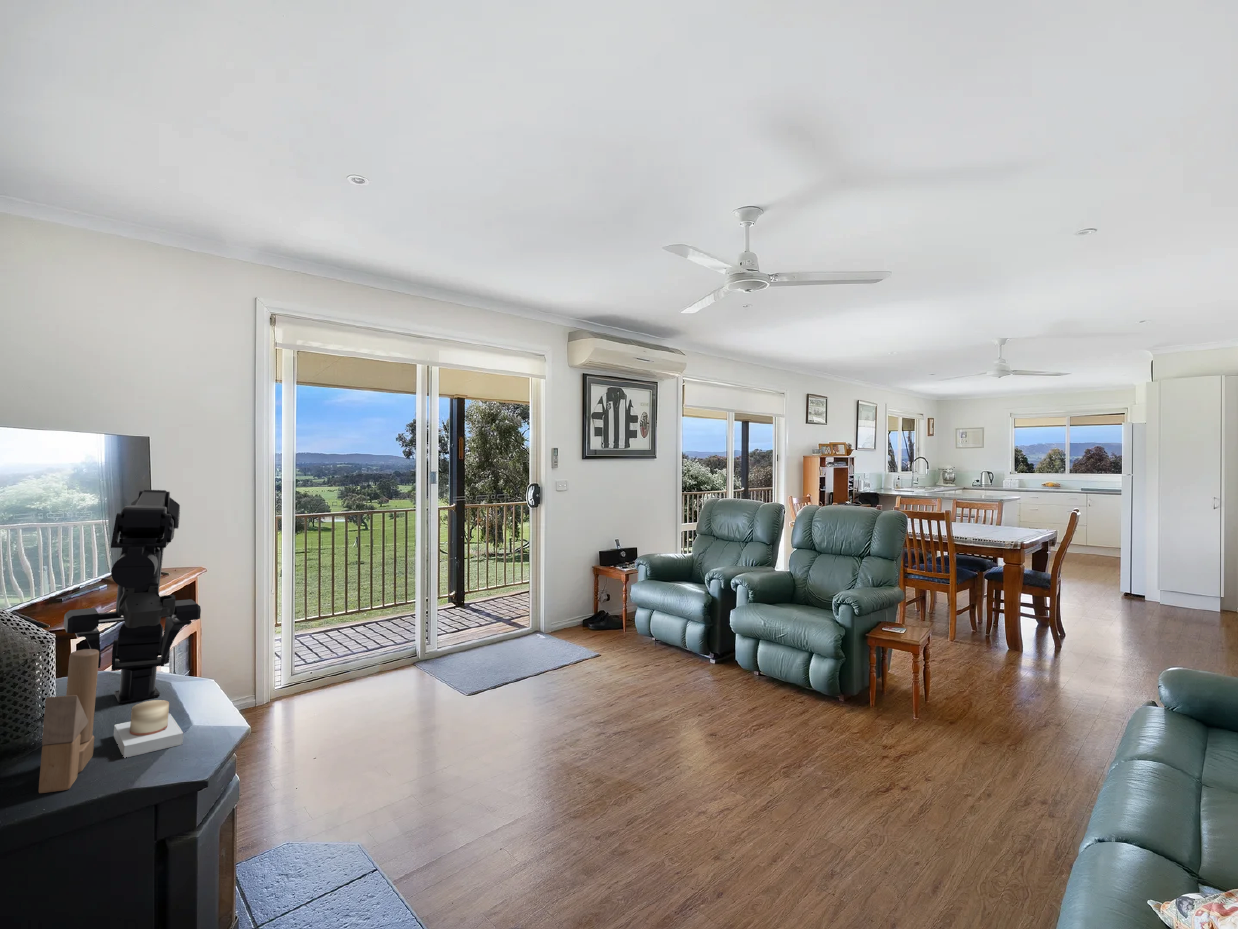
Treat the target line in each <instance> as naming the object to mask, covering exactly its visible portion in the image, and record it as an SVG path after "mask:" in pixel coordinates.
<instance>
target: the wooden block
mask: <svg viewBox="0 0 1238 929" xmlns="http://www.w3.org/2000/svg"><path fill="white" fill-rule="evenodd" d="M98 662H99V651H98V650H96V649H90V648H83V649H78V650H75V651H73V652H70V653H69V659H68V669H67V670H68V671H67V681H66V694H65V695H59V696H47V697H46V698H45V703H44V714H43V726H42V727H43V728H42V738H41V739H42V740H41V745H42V746H41V756H40V767H39V768H40V769H39V779H38V780H39V781H38V793H39V794H47V793H53V792H55V793H56V792H61V791H62V792H63V791H67V790H70V789H71V788H72V786H73V784H74V783H75V781H76V780H77V779H78V774H80V773H81V772H83V770H84V768H85V767H86V766H87V765H88V763H89V762H90V760H92V758H93V755H94V747H95V735H94V734H93V733H94V721H95V720H94V719H95V708H96V707H95V706H96V699H97V698H96V696H97V687H98V686H97V683H98V673H99V668H98Z"/></svg>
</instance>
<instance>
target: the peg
mask: <svg viewBox="0 0 1238 929" xmlns="http://www.w3.org/2000/svg"><path fill="white" fill-rule="evenodd" d="M169 709H170V702H169V701H168V700H163V699H154V700H148V701H141V702H140V703H137V704H134V705H133V706H132V708H131V711H130V713H131V714H130V721H131V723H130V734H132V735H137V736H143V735H151V734H155V733H158V732H161V731H163V730H165V729H166V728H167V725H168V714H169Z"/></svg>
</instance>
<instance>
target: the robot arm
mask: <svg viewBox="0 0 1238 929" xmlns="http://www.w3.org/2000/svg"><path fill="white" fill-rule="evenodd" d="M138 492H139V493H138V498H136V499H135V500H134V501H132V502H131V503H130V505H126V506H123V507H122V509H121V512H117V513H116V514H115V515H116V516H115V520H114V525H113V526H114V527H113V530H112V531H113V532H112V536H111V542H110V548H111V549H121V551H120V555H119V558H118V559H117V560H116V561H115V562H114V563H113V566H112V568H111V572H110V575H111V578H112V581H113V582H114V583H115V584H116V585H117V590H116V600H115V601H116V602H115V611H107V612H98V610H97V608H96V607H92V608H91V607H90V608H80V609H69V610H68V611H67V612H65V614H64V617H63V628H64V630H65V633H66V634H70V635H71V634H75V636H76V637H77V638H85V640H86V641H87V644H88V646H89V649H96V650H98V651H99V662H98V669H100V668H101V664H102V655H101V654H102V651H101V640H100V638H101V632H100V630H99V629H98V627H99V625H102V624H103V625H104V624H111V623H113V624H114V623H120V622H121V623H122V622H124V623H122V625H121V626H120V628H119V630H118V637H117V639H114V640H113V643H112V650H111V672H114V671H119V670H120V678H119V679H120V680H119V688H118V690H115V691H114V693H113V695H114V697H115V698H116V701H117V703H118V704H125V703H131V702H136V701H142V700H147V699H152V698H157V697H159V696H160V695H161V693H160V692H159V690H158V688H157V687H156V680H157V671H158V670H157V668H158V667H165V665H167V664H169V663H170V657H171V656H170V655H171V647H172V645H173V644H174V641H175V640H176V637H177V636H178V634H179V632H180V631H181V630H182V629H183V628H184V627H185V626H189V625H191V624H192V621H196V620H199V619H201V612H202V610H201V605H199V604H198V603H197V602H196V601H194V600H193V599H192V598H191V599H190V598H189V599H181V600H176V596H175V594H166V595H165V594H164V595H161V596H160V587H161V585H160V584H161V577H162V566H163V560H164V559H163V557H164V550H165V548H166V549H167V546H168V545H169V544H170V543H172V540H173V539H174V537H175V530H176V529H177V530H178V529H179V525H180V515H181V512H180V511H181V510H180V509H181V505H180V503H178V502H177V501H176V500H174V499H173V498H172V497H171V495H170V494H171V492H170V491H167V490H165V489H164V490H162V489H143V490H139V491H138ZM162 618H165V622H164V623H165V624H164V627H163V625H162V623H161V619H162Z"/></svg>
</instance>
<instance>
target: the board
mask: <svg viewBox="0 0 1238 929" xmlns="http://www.w3.org/2000/svg"><path fill="white" fill-rule="evenodd" d="M130 723H131V720H130V721H126V722H121V723H117V724H114V726H113V727H114V728H113V738H114V740H115V743H116V744H118V745H117V747H118V748H119V751H120V753H121V755H123V756H122V758H123V757H124V758H123V759H126V757H127V758H130V757H135V756H139V755H143V754H148V753H151V752H155V751H160V750H164V749H168V748H173V747H176V746H181V745H183V743H184V742H183V741H184V732H183V730H182V729H181V727H180V726H179V724H178V723H177V721H176V720H175V718H174V717H173V716H172V714H171V713H168V725H167V728H166V729H165V730H163V731H161V732H158V733H155V734H151V735H143V736H137V735H132V734H130Z"/></svg>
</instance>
